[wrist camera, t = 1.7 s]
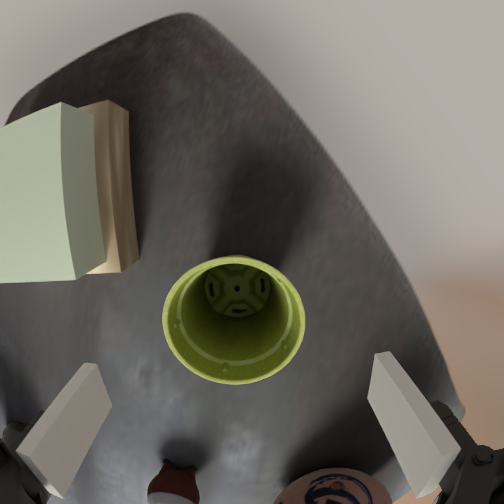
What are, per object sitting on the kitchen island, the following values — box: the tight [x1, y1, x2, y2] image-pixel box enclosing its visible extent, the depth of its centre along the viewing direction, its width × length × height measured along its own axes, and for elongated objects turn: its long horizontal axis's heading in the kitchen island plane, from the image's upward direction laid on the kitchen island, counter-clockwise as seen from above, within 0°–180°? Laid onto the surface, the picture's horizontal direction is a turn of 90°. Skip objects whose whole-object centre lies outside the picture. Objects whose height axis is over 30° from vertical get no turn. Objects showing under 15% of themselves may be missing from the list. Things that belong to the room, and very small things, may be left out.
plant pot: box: [162, 255, 305, 384], centre depth 23 cm, size 9×9×9 cm
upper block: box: [0, 102, 106, 283], centre depth 18 cm, size 12×12×5 cm
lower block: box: [78, 100, 140, 274], centre depth 23 cm, size 14×14×5 cm
